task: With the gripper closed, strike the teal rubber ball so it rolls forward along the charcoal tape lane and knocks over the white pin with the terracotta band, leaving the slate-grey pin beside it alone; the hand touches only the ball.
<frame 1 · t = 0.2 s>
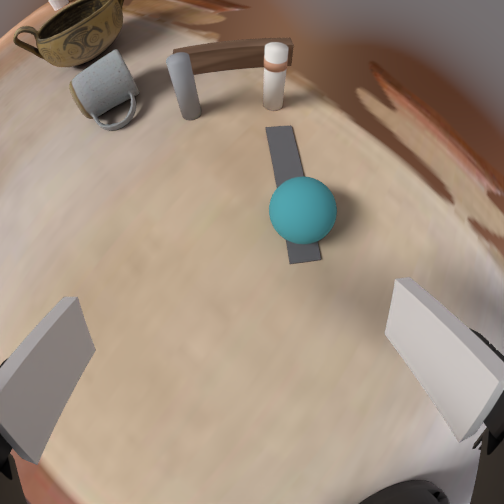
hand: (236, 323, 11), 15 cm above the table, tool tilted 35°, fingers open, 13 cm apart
grey pin: (191, 113, 32), on the table
ball: (303, 210, 25), on the table
ceramic mug: (117, 106, 33), on the table
ceramic bowl: (92, 53, 38), on the table
white cup: (61, 6, 51), on the table
lane mark: (291, 186, 29), on the table
white pin: (272, 104, 32), on the table
backstop: (234, 65, 35), on the table
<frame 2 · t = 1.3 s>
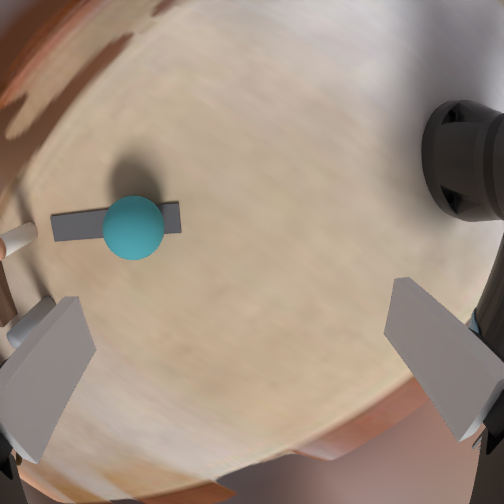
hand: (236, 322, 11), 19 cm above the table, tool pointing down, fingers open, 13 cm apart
grey pin: (49, 304, 31), on the table
ball: (133, 227, 25), on the table
lane mark: (109, 223, 28), on the table
white pin: (30, 231, 28), on the table
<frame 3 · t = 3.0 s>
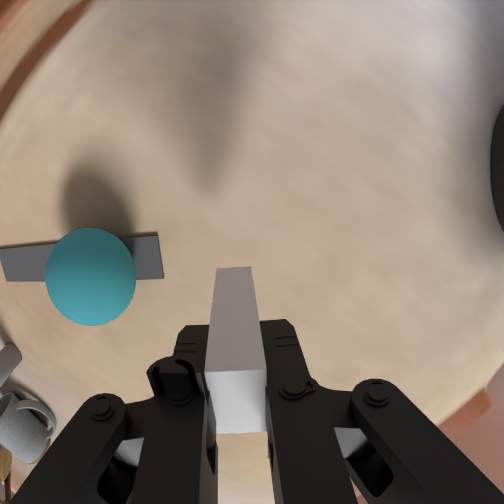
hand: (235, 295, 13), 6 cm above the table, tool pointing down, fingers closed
grey pin: (14, 352, 21), on the table
ball: (90, 276, 16), on the table
ceramic mug: (31, 409, 25), on the table
lane mark: (65, 261, 18), on the table
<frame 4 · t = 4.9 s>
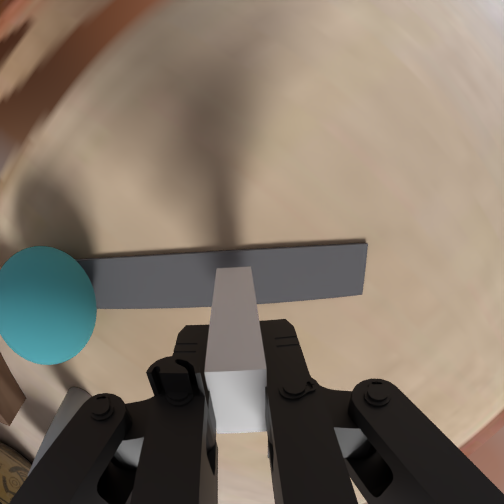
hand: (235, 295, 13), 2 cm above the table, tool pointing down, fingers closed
grey pin: (81, 397, 18), on the table
ball: (43, 305, 11), on the table
ceramic bowl: (17, 454, 23), on the table
lane mark: (215, 278, 15), on the table
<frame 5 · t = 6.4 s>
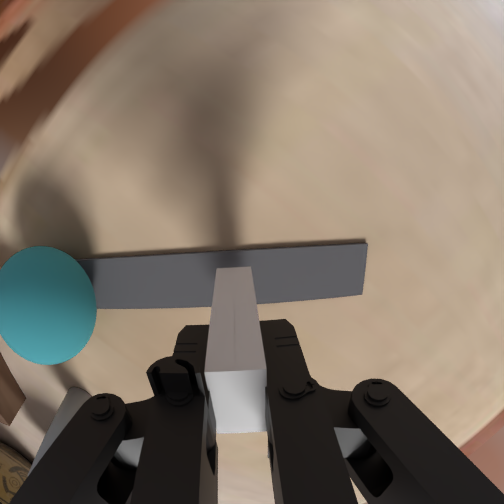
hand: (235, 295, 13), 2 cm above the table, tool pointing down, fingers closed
grey pin: (81, 397, 18), on the table
ball: (43, 305, 11), on the table
ceramic bowl: (17, 454, 23), on the table
lane mark: (215, 278, 15), on the table
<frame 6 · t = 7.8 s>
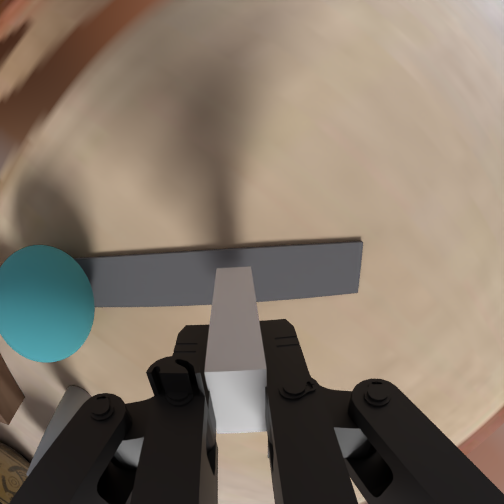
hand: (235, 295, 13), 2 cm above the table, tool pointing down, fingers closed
grey pin: (80, 396, 18), on the table
ball: (42, 304, 12), on the table
ceramic bowl: (16, 454, 23), on the table
lane mark: (212, 277, 15), on the table
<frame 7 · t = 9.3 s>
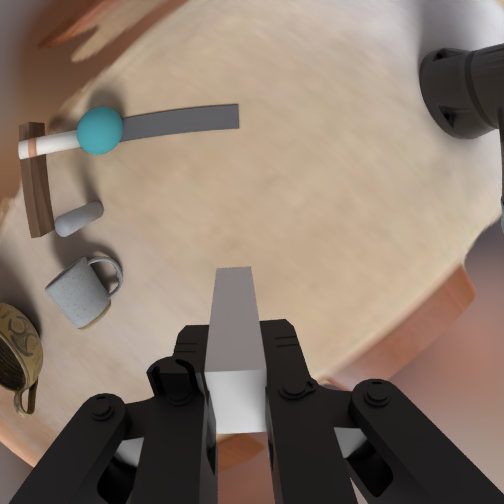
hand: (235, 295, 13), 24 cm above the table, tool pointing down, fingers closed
grey pin: (96, 209, 35), on the table
ball: (99, 130, 29), on the table
ceramic mug: (95, 277, 38), on the table
ceramic bowl: (22, 326, 41), on the table
lane mark: (173, 122, 32), on the table
white pin: (81, 138, 31), point 1 cm above the table, tilted 59°
backstop: (42, 177, 33), on the table
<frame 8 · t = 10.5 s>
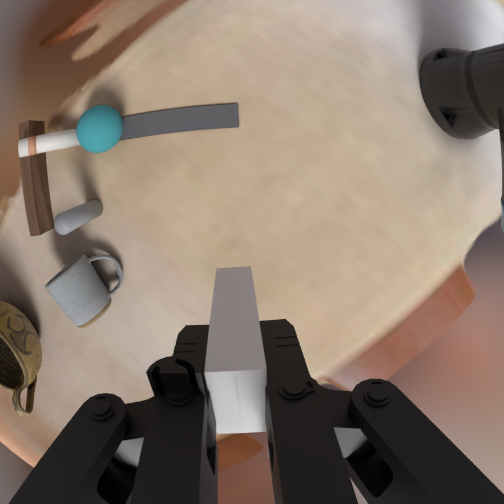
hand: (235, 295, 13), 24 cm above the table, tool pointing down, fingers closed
grey pin: (95, 207, 35), on the table
ball: (99, 128, 29), on the table
ceramic mug: (95, 275, 38), on the table
ceramic bowl: (21, 325, 41), on the table
lane mark: (173, 120, 32), on the table
white pin: (81, 136, 31), point 1 cm above the table, tilted 59°
backstop: (42, 175, 32), on the table
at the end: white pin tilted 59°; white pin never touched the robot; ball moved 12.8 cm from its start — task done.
